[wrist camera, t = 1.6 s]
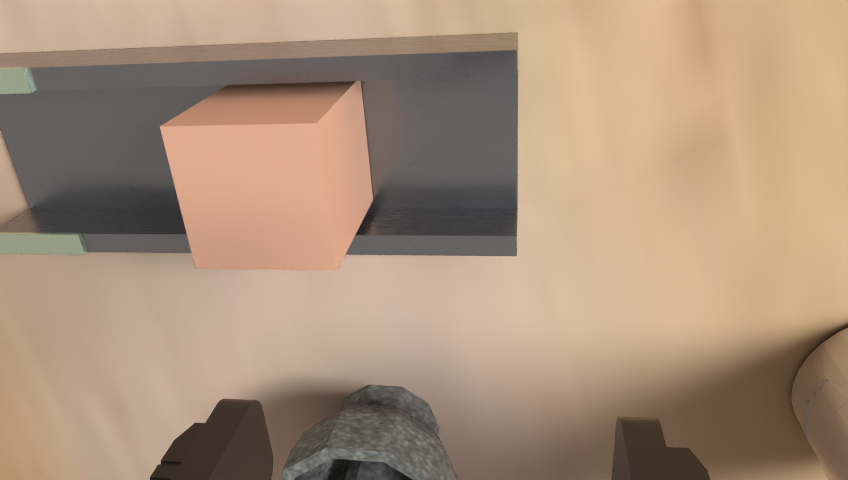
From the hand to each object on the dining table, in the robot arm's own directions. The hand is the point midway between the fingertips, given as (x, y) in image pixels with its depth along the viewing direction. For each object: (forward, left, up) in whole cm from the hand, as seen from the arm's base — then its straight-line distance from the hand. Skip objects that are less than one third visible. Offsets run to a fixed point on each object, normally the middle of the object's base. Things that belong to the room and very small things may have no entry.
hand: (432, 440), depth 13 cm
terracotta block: (+8, 0, -19) cm, 21 cm away
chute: (+11, 0, -20) cm, 23 cm away
